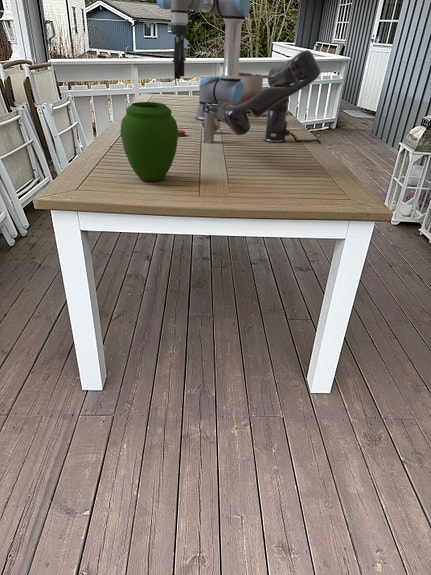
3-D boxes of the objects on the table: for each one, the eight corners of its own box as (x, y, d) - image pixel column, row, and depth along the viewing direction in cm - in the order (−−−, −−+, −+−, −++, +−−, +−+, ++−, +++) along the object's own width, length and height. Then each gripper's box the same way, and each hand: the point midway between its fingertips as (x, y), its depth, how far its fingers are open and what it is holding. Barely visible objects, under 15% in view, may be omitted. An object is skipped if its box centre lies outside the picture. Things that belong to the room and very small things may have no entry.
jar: (210, 143, 196) (211, 108, 188) (201, 141, 198) (202, 107, 190) (215, 141, 200) (217, 107, 191) (207, 140, 202) (208, 106, 193)
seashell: (219, 131, 220) (219, 115, 216) (220, 133, 215) (221, 117, 211) (201, 130, 219) (202, 114, 214) (202, 133, 214) (203, 116, 210)
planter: (264, 113, 274) (268, 77, 262) (227, 113, 270) (229, 75, 258) (255, 107, 295) (258, 73, 283) (220, 106, 291) (222, 72, 279)
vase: (131, 189, 135) (125, 110, 122) (118, 172, 150) (112, 100, 137) (186, 184, 142) (187, 109, 129) (169, 168, 157) (167, 99, 144)
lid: (174, 133, 211) (174, 129, 209) (185, 134, 211) (185, 130, 210) (173, 136, 206) (173, 131, 205) (184, 136, 206) (184, 132, 205)
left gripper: (175, 24, 194) (175, 74, 205) (166, 23, 173) (167, 79, 184) (190, 25, 194) (190, 75, 205) (184, 24, 172) (184, 80, 184)
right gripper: (209, 122, 168) (199, 114, 181) (241, 122, 172) (230, 114, 185) (209, 102, 164) (200, 96, 177) (243, 102, 168) (231, 96, 181)
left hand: (179, 77), depth 194 cm, fingers open, 13 cm apart
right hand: (215, 105), depth 181 cm, fingers open, 8 cm apart
